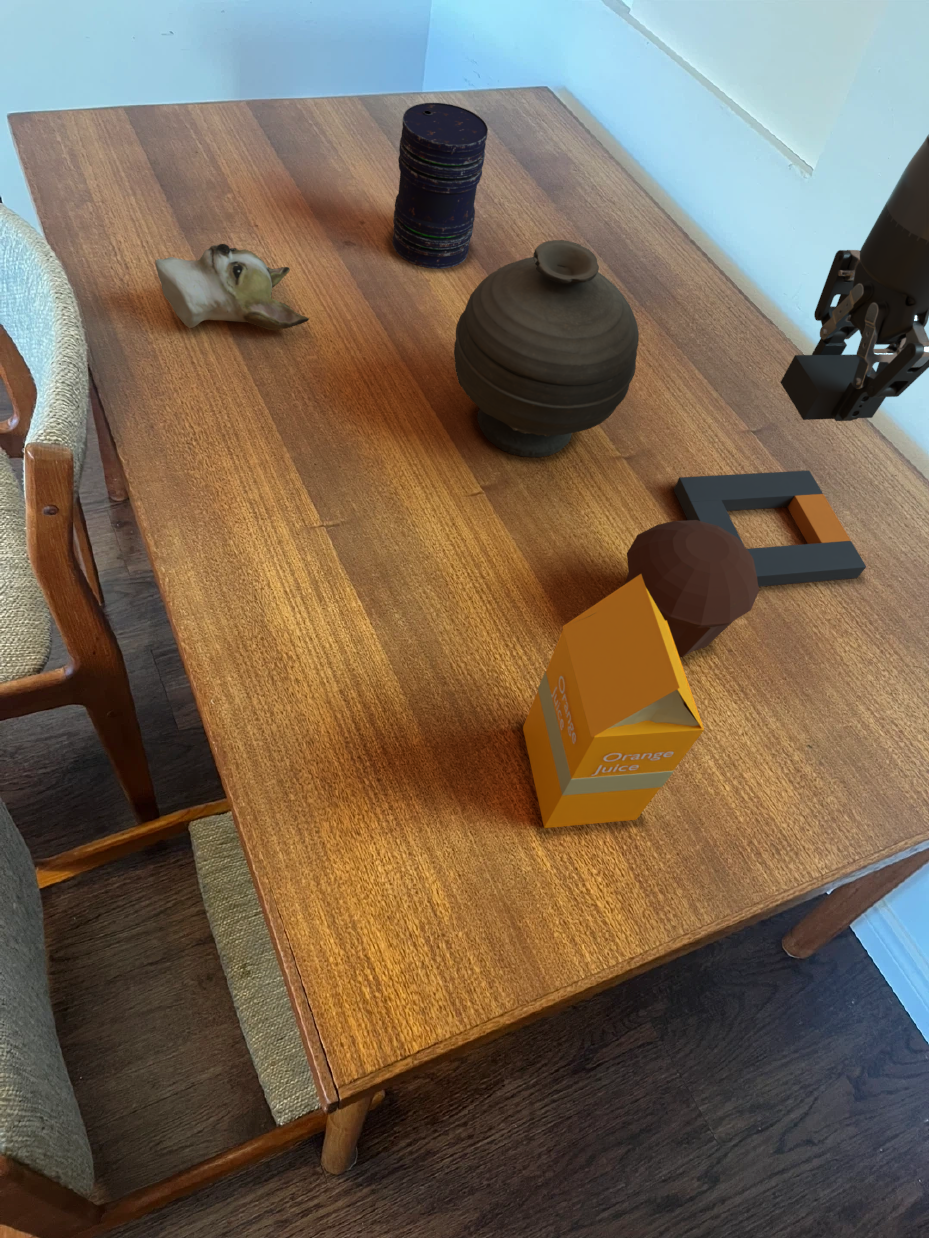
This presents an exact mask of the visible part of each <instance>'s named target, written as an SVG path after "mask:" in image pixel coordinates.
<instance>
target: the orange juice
mask: <svg viewBox="0 0 929 1238" xmlns="http://www.w3.org/2000/svg"><path fill="white" fill-rule="evenodd" d="M625 583H626V582H625ZM680 657H681V656H679V654H678V652H677V649H676V646H675V643H674V640H673V637H672V634H671V631H670V628H669V625H668V623H667V620H666V621H665V620H664V618H663V616H662V614H661V613H660V611H659V609H658V607H657V606H656V604H655V602H654V600H653V599H652V597H651V595H650V593H649V592H648V590H647V588H646V586H645V584H644V581H643V578H642V575H641V574H640V575H638V576H637V577H635V578H634V579H632V580H631V581H629V582H628V583H626V584H624V585H622V586H620V587H619V588H617V589H616V590H614V591H613V592H612V593H610V594H608V595H607V596H606V597H604V598H602V599H601V600H599V601H598V602H596V603H595V604H594V605H592V606H590V607H589V608H588V609H586V610H585V611H583V612H582V613H580V614H579V615H578V616H576V617H574V618H573V619H571V620H570V621H569V622H567V623H566V624H564V625H562V631H561V633H560V636H559V638H558V641H557V643H556V645H555V647H554V651H553V652H552V655H551V657H550V660H549V663H548V665H547V667H546V670H545V671H544V673H543V675H542V678H541V680H540V682H539V685H538V688H537V692H536V693H535V696H534V699H533V701H532V704H531V706H530V709H529V711H528V714H527V716H526V718H525V720H524V724H523V726H522V731H523V735H524V740H525V745H526V749H527V754H528V758H529V763H530V768H531V773H532V778H533V782H534V786H535V792H536V797H537V802H538V805H539V810H540V815H541V821H542V825H543V829H550V828H561V827H571V826H585V825H593V824H595V825H596V824H606V823H616V822H627V821H637V820H638V818H639V817H640V816H641V814H642V813H643V812H644V811H645V809H646V808H647V807H648V805H649V804H650V803H651V801H652V800H653V799H654V797H655V796H656V795H657V793H658V792H659V791H660V789H661V788H663V787H664V785H665V784H666V783H667V781H668V780H669V779H670V778H671V776H672V775H673V773H674V772H675V769H676V768H677V767H678V765H679V764H680V763H681V762H682V760H683V759H684V758H685V756H686V755H687V754H688V752H689V751H690V750H691V748H692V747H693V746H694V745H695V744H696V742H697V741H698V739H699V738H700V737H701V735H702V734H703V732H704V731H705V727H704V724H703V721H702V719H701V715H700V713H699V709H698V707H697V704H696V701H695V698H694V695H693V693H692V690H691V687H690V684H689V681H688V678H687V675H686V672H685V669H684V667H683V662H682V660H681V658H680Z"/></svg>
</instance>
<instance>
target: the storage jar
mask: <svg viewBox="0 0 929 1238" xmlns="http://www.w3.org/2000/svg"><path fill="white" fill-rule="evenodd" d="M401 125H402V128H401V136H400V138H399V149H398V151H399V156H398V159H397V161H398V169H399V182H398V184H399V185H398V193H397V195H396V196H395V202H394V211H393V220H392V224H393V225H392V226H393V234H392V240H391V241H392V247H393V249H394V251H395V252H396V253H397V255H398V256H400V257H401V258H402V259H404V260H405V261H407V262H409V263H411V264H413V265H415V266H419V267H423V268H427V269H435V270H436V269H449V268H453V267H456V266H458V265H460V264H462V263H464V261H465V260H466V259H467V258H468V255H469V251H470V250H469V249H470V243H471V239H472V236H473V231H474V222H475V218H476V215H475V214H476V209H475V200H476V195H477V188H478V184H479V183H480V181H481V178H482V175H483V168H484V167H483V166H484V162H485V157H486V145H487V143H486V142H487V140H488V133H489V128H488V125H487V123H486V122H485V120H484V119H483V118H482V117H481V116H479V115H478V114H476V113H475V112H473V111H471V110H469V109H467V108H464V107H461V106H459V105H455V104H450V103H445V102H422V103H418V104H415V105H412V106H410V107H409V108H407V109H406V110H405V111H404V113H403V115H402V124H401Z"/></svg>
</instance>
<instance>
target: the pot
mask: <svg viewBox="0 0 929 1238" xmlns="http://www.w3.org/2000/svg"><path fill="white" fill-rule="evenodd" d="M599 270H600V266H599V263H598V258H597V257H596V255H595V254H594V252H593V251H592V250H591V249H589V248H587V247H585V246H583V245H582V244H580V243H577V242H575V241H570V240H565V239H553V240H548V241H544V242H542V243H540V244H538V245H537V246H536V248H535V249H534V252H533V254H532V256H530V257H526V258H521V259H519V260H515V261H514V262H511V263H508V264H506V265H503V266H501V267H500V268H498V269H496V270H495V271H493V272H491V273H490V274H489V275H487V277H485V278H484V279H482V281H481V282H480V283H479V284H478V285H477V286H476V287H475V288H474V290H473V291H472V293H470V295H469V298H468V299H467V303H466V306H465V307H464V310H463V312H462V313H461V314H460V316H459V318H458V320H457V323H456V327H455V341H454V348H453V358H454V369H455V373H456V374H455V375H456V377H457V382H458V385H459V386H460V387H461V389H462V390H463V391H464V393H465V395H466V396H467V397H468V398H469V400H470V401H472V402H473V403H474V404H475V406H477V407H478V408H479V410H477V416H476V418H477V422H478V426H479V428H480V431H481V432H482V435H484V436H485V438H486V439H487V440H488V441H489V442H491V444H492V445H494V446H495V447H497V448H498V449H500V450H501V451H503V452H505V453H508V454H510V455H513V456H514V455H516V456H519V457H521V458H522V457H525V458H526V457H527V458H541V457H543V458H544V457H548V456H554V454H557V453H559V452H561V451H562V450H563V449H564V448H565V447H566V446H567V445H568V444H570V441H572V435H573V434H575V433H579V432H583V431H587V430H589V429H592V428H595V427H597V426H599V425H600V424H602V423H603V422H605V421H606V420H607V419H608V418H609V417H610V416H611V415H612V414H613V413H614V412H615V410H616V409H617V408H618V406H619V405H620V404H621V403H622V402H623V401H624V400H625V397H626V396H627V394H628V392H629V389H630V384H631V382H632V380H633V379H634V376H635V373H636V367H637V366H636V365H637V364H636V363H637V355H638V354H637V353H638V347H639V339H640V338H639V326H638V322H637V319H636V316H635V314H634V311H633V308H632V307H631V305H630V303H629V302H628V300H627V299H626V298H625V296H624V294H623V293H622V292H621V290H620V289H619V288H618V287H617V286H616V285H615V284H614V283H613V282H612V281H610V280H609V279H608V278H607V277H606V276H605V275H603V273H601V272H599Z"/></svg>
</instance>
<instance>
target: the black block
mask: <svg viewBox="0 0 929 1238" xmlns="http://www.w3.org/2000/svg"><path fill="white" fill-rule="evenodd" d="M858 364H859V358H858V357H857V355H856V354H842V355H812V354H795V355H794V356H793V358H792V359H791V362H790V363H789V365H788V367H787V368H786V371H785V372H784V374H783V376H782V378H781V380H780V384H781V386H782V388H783V389H784V391H785V393H786V394H787V396H788V397H789V399H790V401H791V402H792V404H793V406H794V408H795V409H796V411H797V412H798V414H799V415H800V417H801V419H802V420H803V421H813V420H835V419H834V418H833V416H832V412H833V410H834V408H835V407H836V405H837V404H838V402H839V400H840V399H841V397H842V395H843V394H844V392H845V390H846V388H847V387H848V385H849V384H850V382H853V379H854V376H855V373H856V370H857V367H858ZM875 373H876V369H875V368H874V366H873V367H872V370H871V373H870V374H875ZM886 398H887V397H873V399H872V400H871V402H870V403H869V405H868V406H867V407H866V409H865V411H864V412H863V414H862V415H861V417H859V418H858V419H872V418H873V417H874V416H875V414H876V413H877V411H878V410H879V408H880V407H881V405H882V404H883V402H884V401H885V399H886Z"/></svg>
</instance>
